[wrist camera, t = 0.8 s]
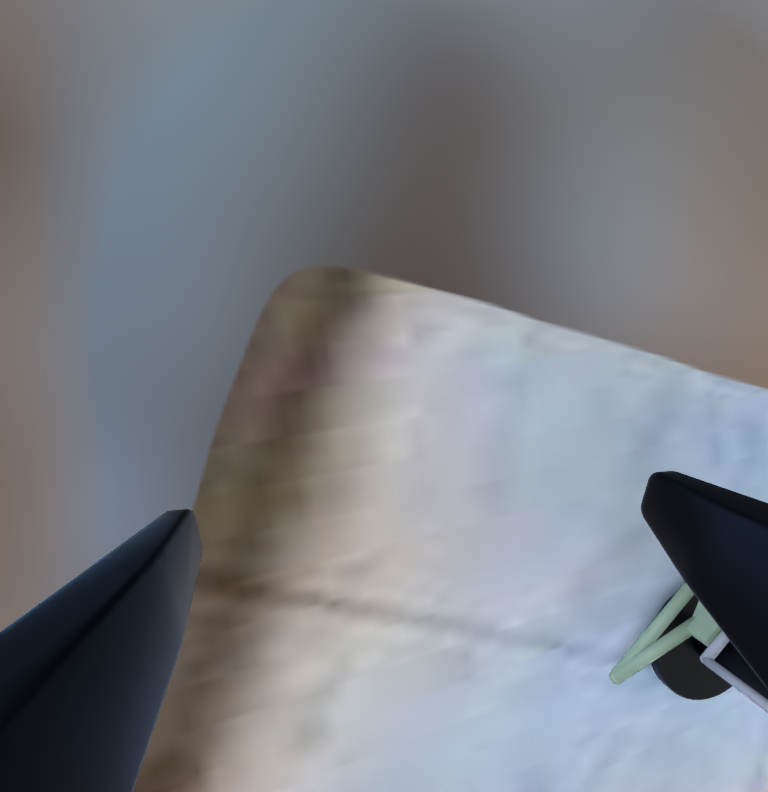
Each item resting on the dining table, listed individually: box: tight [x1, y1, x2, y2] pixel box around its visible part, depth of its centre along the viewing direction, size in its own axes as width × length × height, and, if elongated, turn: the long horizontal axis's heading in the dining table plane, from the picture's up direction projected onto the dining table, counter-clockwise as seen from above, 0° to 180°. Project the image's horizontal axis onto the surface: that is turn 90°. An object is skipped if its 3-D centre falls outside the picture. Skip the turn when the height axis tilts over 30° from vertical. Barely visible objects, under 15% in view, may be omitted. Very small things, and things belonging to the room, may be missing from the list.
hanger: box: [609, 582, 768, 713], centre depth 20 cm, size 1×12×11 cm, turn 136°
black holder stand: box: [652, 595, 768, 700], centre depth 23 cm, size 8×12×9 cm
